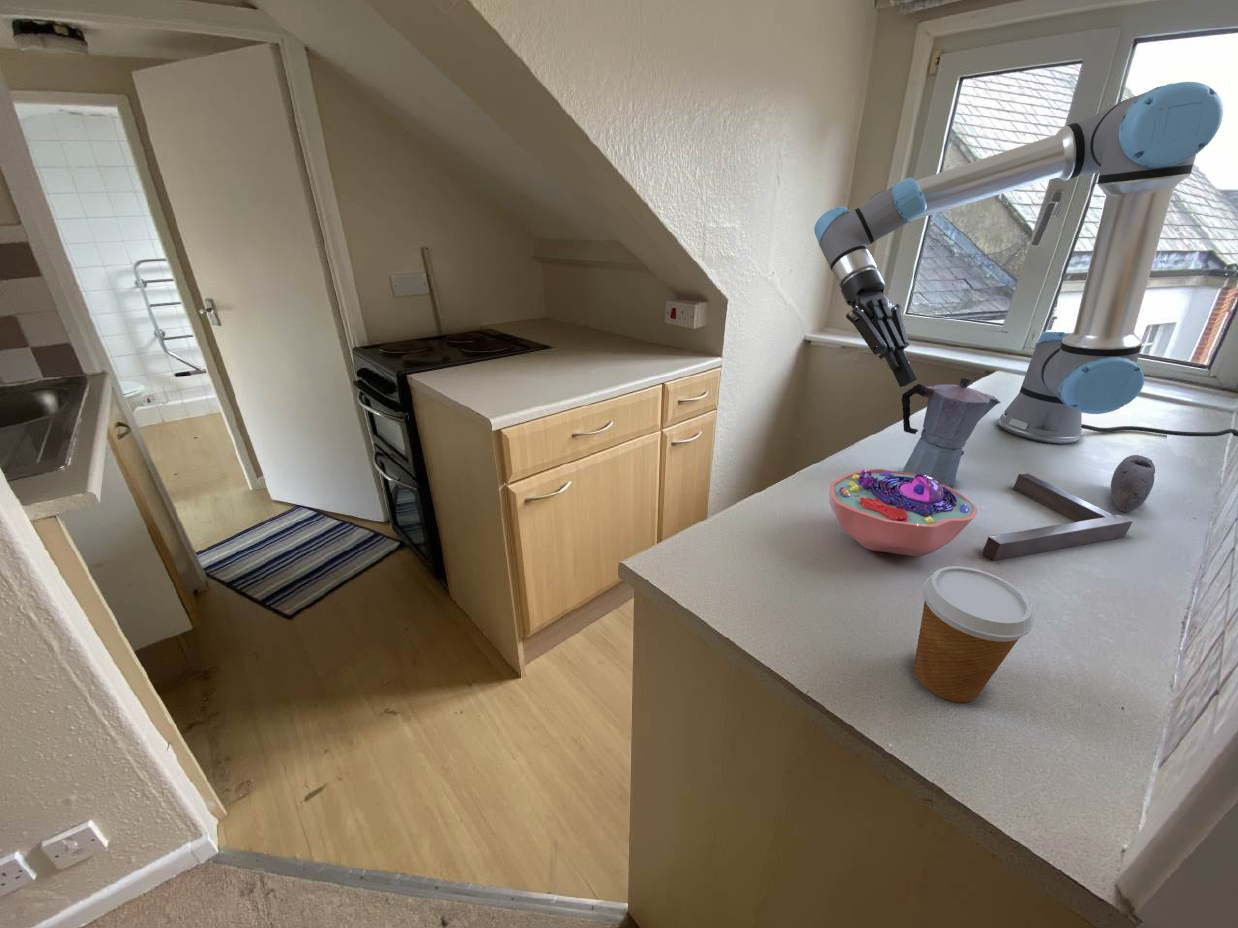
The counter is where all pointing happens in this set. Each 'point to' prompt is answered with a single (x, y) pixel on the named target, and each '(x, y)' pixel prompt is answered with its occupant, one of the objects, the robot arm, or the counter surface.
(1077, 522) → the corner guide
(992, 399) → the moka pot
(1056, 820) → the counter surface
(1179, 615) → the counter surface
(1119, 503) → the perforated stone tool
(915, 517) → the cell model
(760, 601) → the counter surface
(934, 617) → the disposable coffee cup
